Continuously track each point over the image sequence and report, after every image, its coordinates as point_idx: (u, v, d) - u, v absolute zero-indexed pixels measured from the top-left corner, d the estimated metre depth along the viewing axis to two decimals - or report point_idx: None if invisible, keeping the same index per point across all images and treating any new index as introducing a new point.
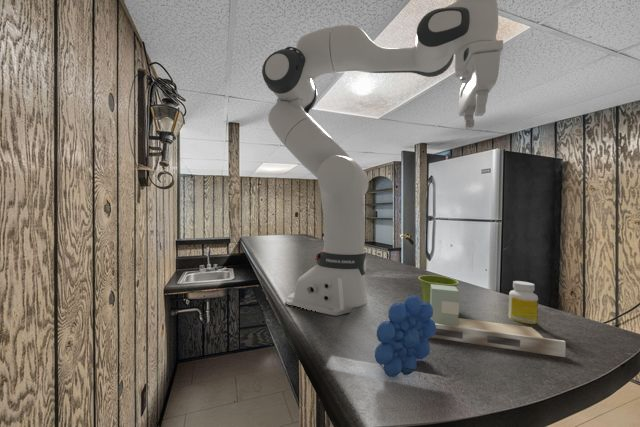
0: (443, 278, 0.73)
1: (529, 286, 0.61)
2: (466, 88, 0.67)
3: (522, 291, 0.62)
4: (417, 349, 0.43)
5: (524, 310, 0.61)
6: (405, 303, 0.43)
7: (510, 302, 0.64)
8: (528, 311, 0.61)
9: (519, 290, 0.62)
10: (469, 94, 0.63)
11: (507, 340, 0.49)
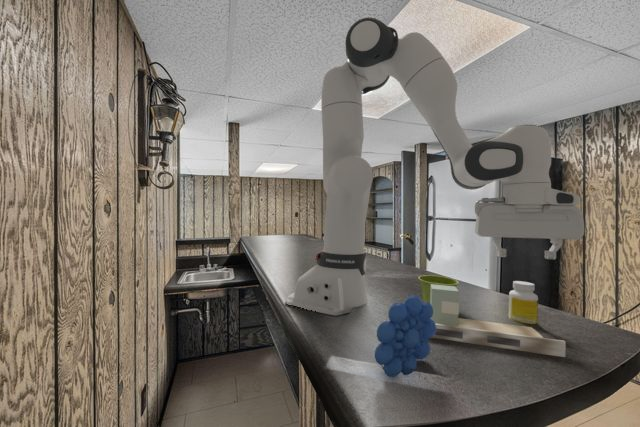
0: (443, 278, 0.73)
1: (529, 286, 0.61)
2: (526, 221, 0.62)
3: (522, 291, 0.62)
4: (417, 349, 0.43)
5: (524, 310, 0.61)
6: (405, 303, 0.43)
7: (510, 302, 0.64)
8: (528, 311, 0.61)
9: (519, 290, 0.62)
10: (545, 235, 0.61)
11: (507, 340, 0.49)
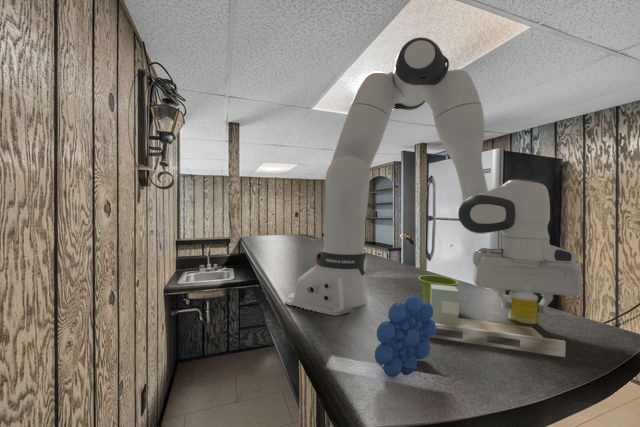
0: (443, 278, 0.73)
1: (529, 286, 0.61)
2: (524, 275, 0.62)
3: (522, 291, 0.62)
4: (417, 349, 0.43)
5: (524, 310, 0.61)
6: (405, 303, 0.43)
7: None
8: (528, 311, 0.61)
9: None
10: (543, 290, 0.61)
11: (507, 340, 0.49)
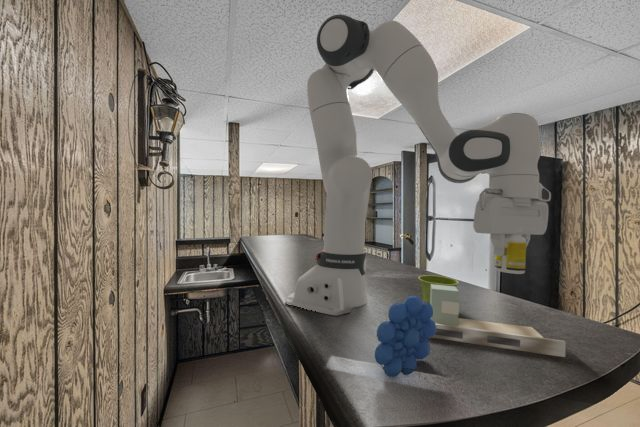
0: (443, 278, 0.73)
1: (522, 228, 0.58)
2: (519, 216, 0.58)
3: (516, 234, 0.58)
4: (417, 349, 0.43)
5: (521, 253, 0.57)
6: (405, 303, 0.43)
7: None
8: (524, 254, 0.57)
9: None
10: (528, 230, 0.59)
11: (507, 340, 0.49)
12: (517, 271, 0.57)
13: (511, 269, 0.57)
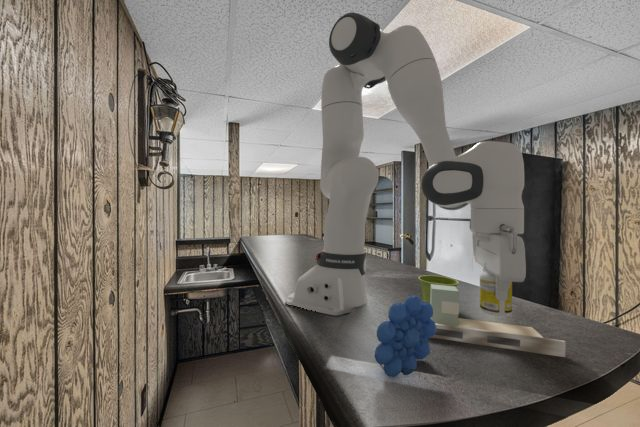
0: (443, 278, 0.73)
1: None
2: None
3: None
4: (417, 349, 0.43)
5: None
6: (405, 303, 0.43)
7: None
8: None
9: None
10: None
11: (507, 340, 0.49)
12: (511, 313, 0.52)
13: (508, 311, 0.52)
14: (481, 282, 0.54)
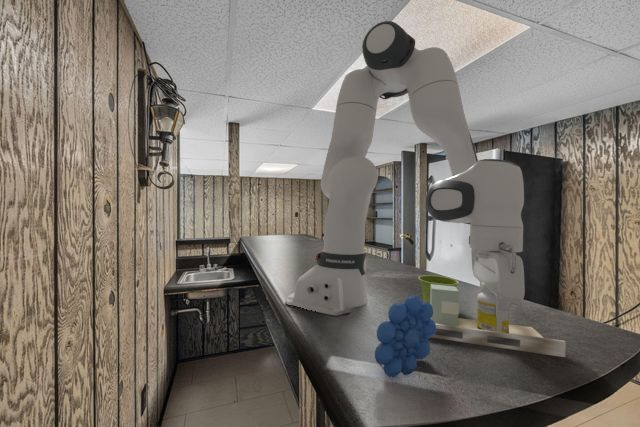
0: (443, 278, 0.73)
1: None
2: None
3: None
4: (417, 349, 0.43)
5: None
6: (405, 303, 0.43)
7: None
8: None
9: None
10: None
11: (507, 340, 0.49)
12: None
13: None
14: (479, 303, 0.55)
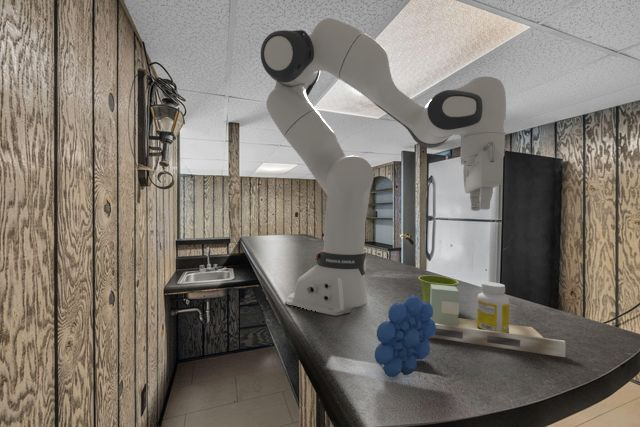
0: (443, 278, 0.73)
1: None
2: None
3: (503, 293, 0.54)
4: (417, 349, 0.43)
5: None
6: (405, 303, 0.43)
7: (499, 312, 0.52)
8: None
9: (502, 293, 0.53)
10: None
11: (507, 340, 0.49)
12: None
13: None
14: (479, 303, 0.55)
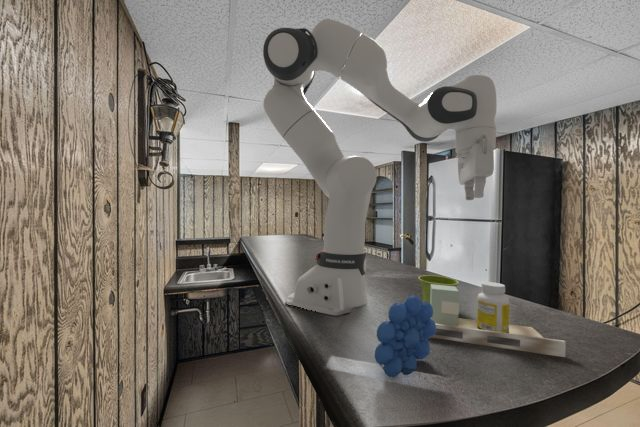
0: (443, 278, 0.73)
1: None
2: None
3: (503, 293, 0.54)
4: (417, 349, 0.43)
5: None
6: (405, 303, 0.43)
7: (499, 312, 0.52)
8: None
9: (502, 293, 0.53)
10: None
11: (507, 340, 0.49)
12: None
13: None
14: (479, 303, 0.55)
